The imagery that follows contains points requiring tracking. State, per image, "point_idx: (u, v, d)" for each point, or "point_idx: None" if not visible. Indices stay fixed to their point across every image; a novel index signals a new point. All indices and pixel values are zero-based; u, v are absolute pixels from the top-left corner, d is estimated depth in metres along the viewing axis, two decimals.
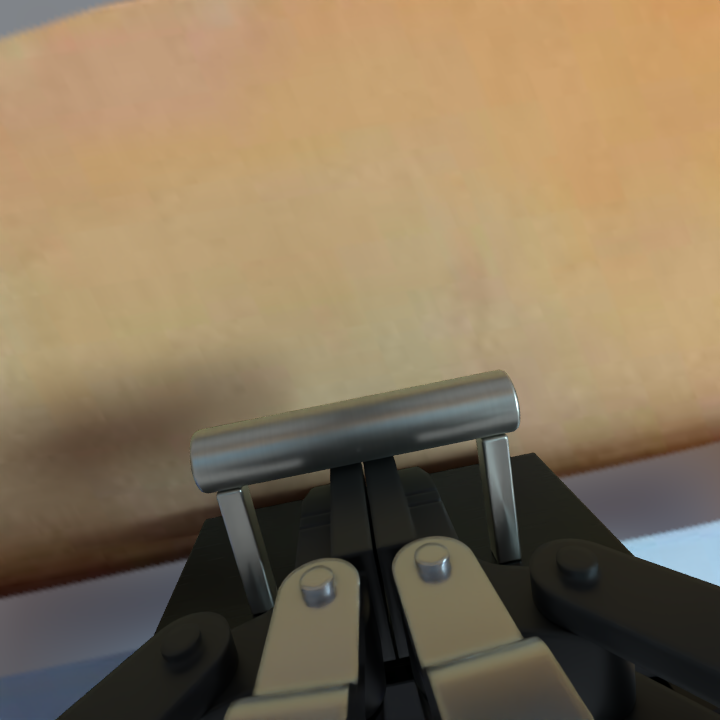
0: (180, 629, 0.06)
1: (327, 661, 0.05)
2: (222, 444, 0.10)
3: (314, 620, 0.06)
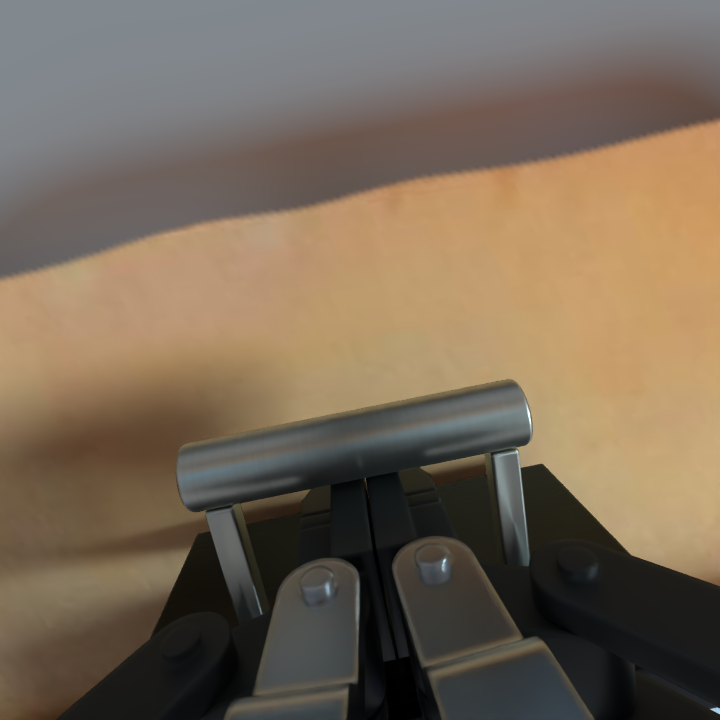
0: (179, 629, 0.06)
1: (327, 661, 0.05)
2: (211, 460, 0.09)
3: (314, 620, 0.06)
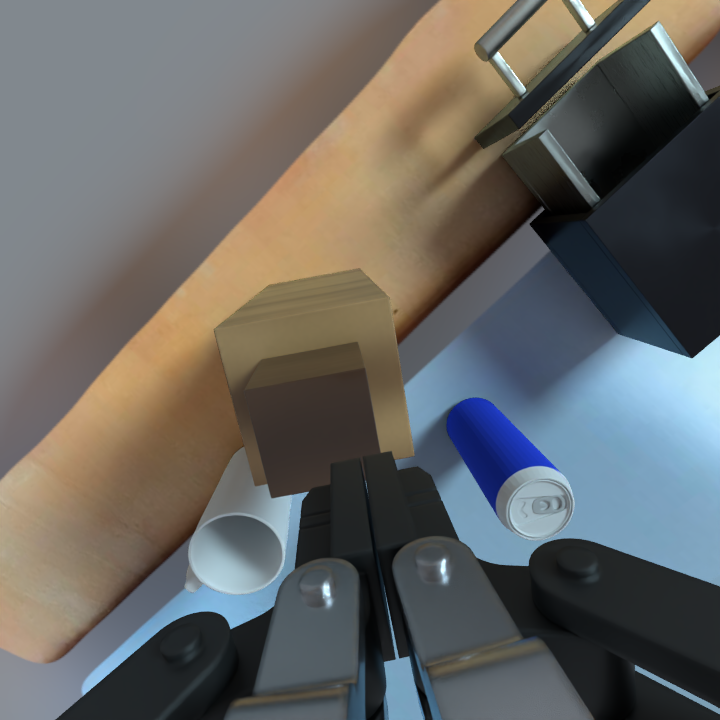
0: (180, 629, 0.06)
1: (327, 661, 0.05)
2: (486, 35, 0.31)
3: (315, 620, 0.06)
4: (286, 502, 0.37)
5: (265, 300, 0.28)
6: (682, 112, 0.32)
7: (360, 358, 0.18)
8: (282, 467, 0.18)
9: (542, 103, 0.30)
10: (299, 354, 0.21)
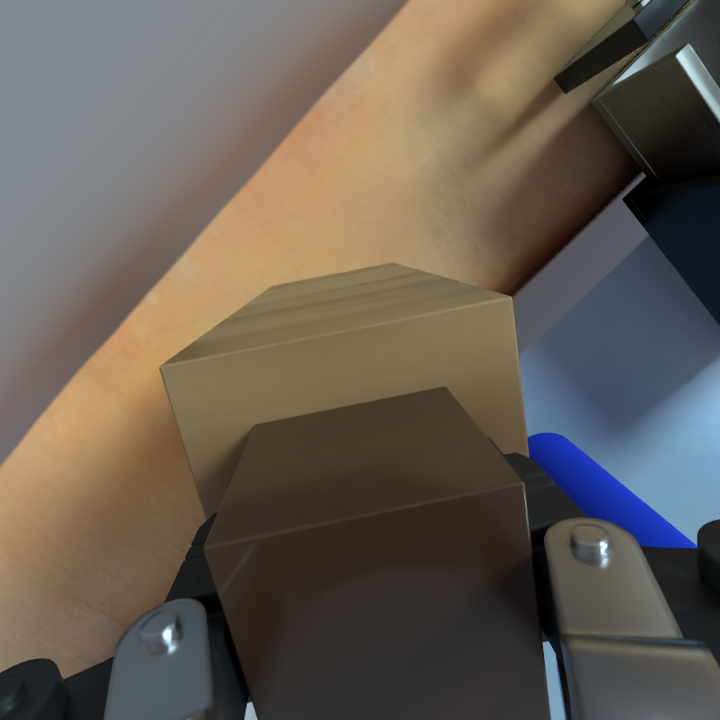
0: None
1: None
2: None
3: (161, 666, 0.06)
4: None
5: (265, 307, 0.18)
6: None
7: (485, 440, 0.08)
8: None
9: (684, 1, 0.20)
10: (332, 415, 0.10)
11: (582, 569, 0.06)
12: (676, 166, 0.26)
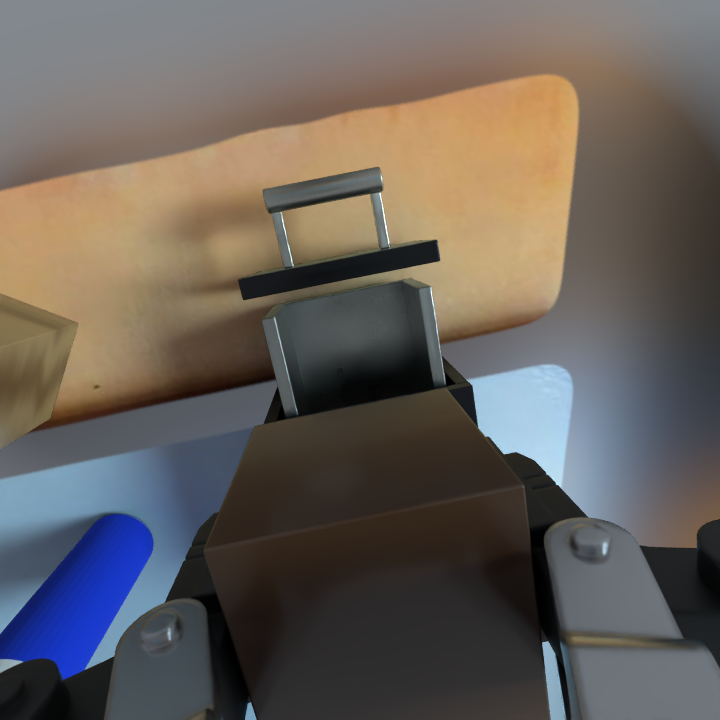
0: None
1: (134, 719, 0.05)
2: (274, 189, 0.27)
3: (161, 665, 0.06)
4: None
5: None
6: (428, 379, 0.30)
7: (485, 442, 0.08)
8: None
9: (278, 290, 0.26)
10: (332, 417, 0.10)
11: (582, 569, 0.06)
12: None
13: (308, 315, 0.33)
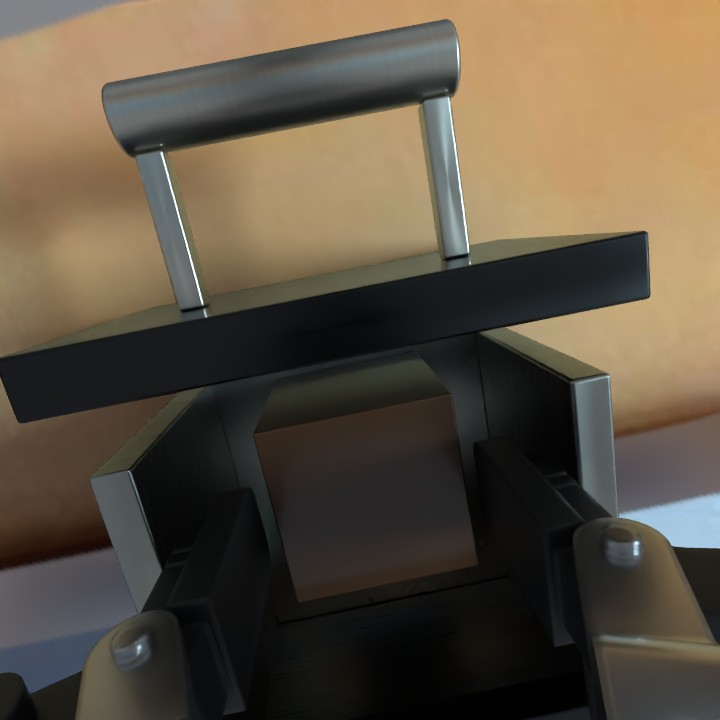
0: None
1: None
2: (137, 81, 0.09)
3: (133, 679, 0.06)
4: None
5: None
6: None
7: (434, 376, 0.12)
8: (316, 554, 0.11)
9: (131, 395, 0.08)
10: (332, 371, 0.14)
11: (615, 570, 0.06)
12: None
13: (264, 405, 0.15)
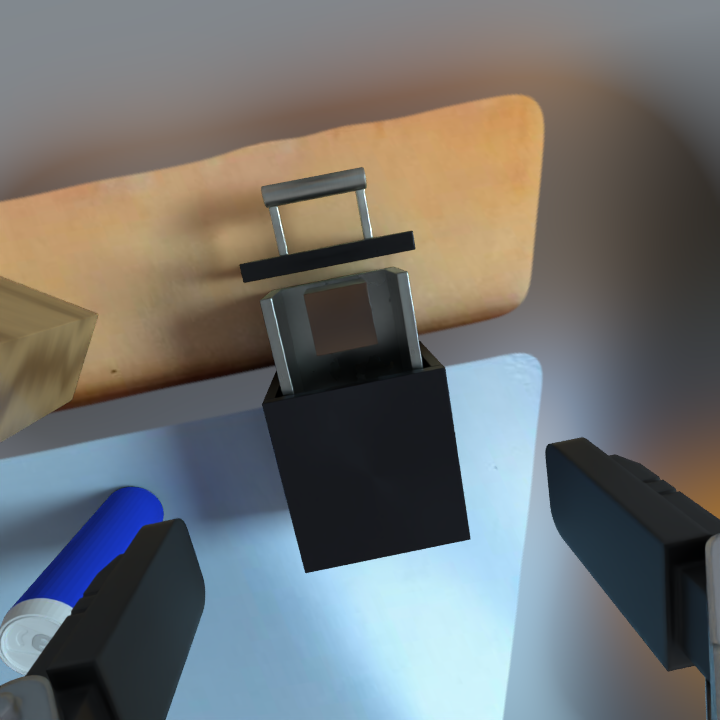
0: None
1: None
2: (271, 187, 0.31)
3: None
4: None
5: None
6: (407, 355, 0.34)
7: (363, 280, 0.34)
8: (323, 337, 0.33)
9: (274, 274, 0.30)
10: (328, 284, 0.36)
11: None
12: None
13: (301, 299, 0.37)
